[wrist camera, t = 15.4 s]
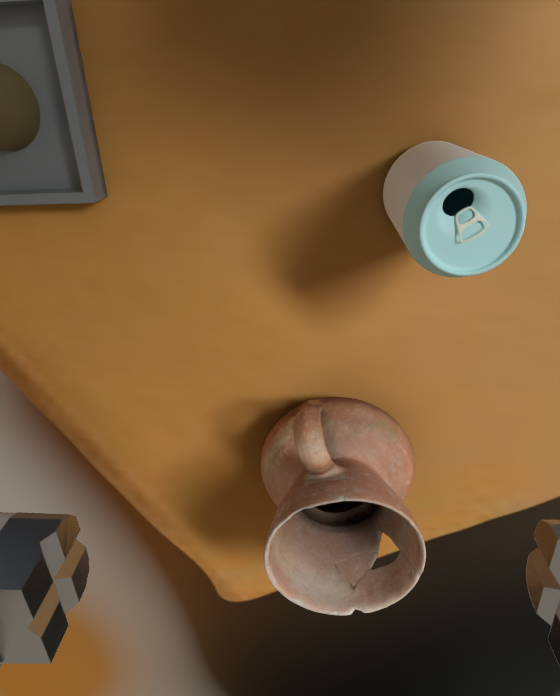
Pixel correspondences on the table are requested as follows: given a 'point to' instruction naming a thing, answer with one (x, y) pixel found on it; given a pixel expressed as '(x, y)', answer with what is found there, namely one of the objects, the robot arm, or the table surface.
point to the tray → (50, 108)
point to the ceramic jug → (340, 506)
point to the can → (454, 208)
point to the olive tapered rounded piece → (17, 111)
